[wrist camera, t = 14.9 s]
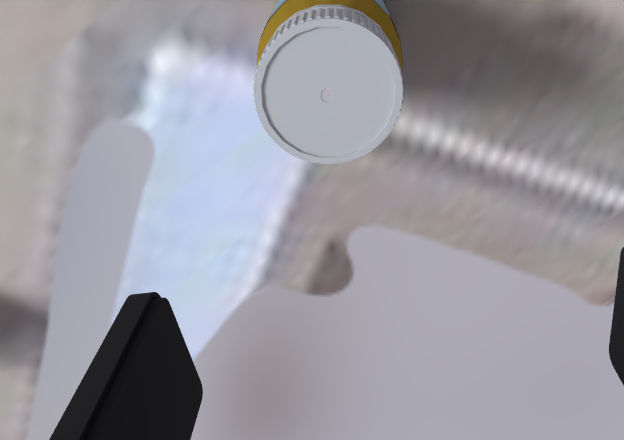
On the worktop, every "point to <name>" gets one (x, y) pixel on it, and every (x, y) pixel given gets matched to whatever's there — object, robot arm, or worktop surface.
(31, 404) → the worktop surface
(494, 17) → the worktop surface
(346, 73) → the bottle
